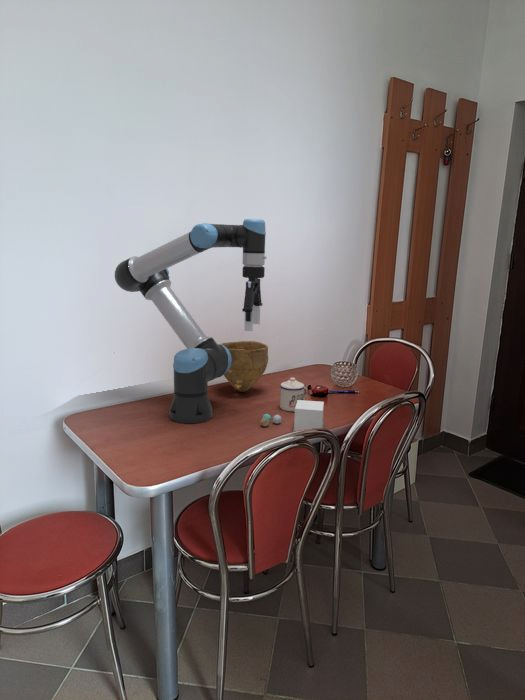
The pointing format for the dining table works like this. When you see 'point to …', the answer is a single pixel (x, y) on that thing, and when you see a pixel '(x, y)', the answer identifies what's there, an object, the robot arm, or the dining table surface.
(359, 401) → the dining table surface
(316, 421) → the cover
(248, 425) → the dining table surface
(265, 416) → the teal ball
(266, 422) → the cork ball
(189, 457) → the dining table surface
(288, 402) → the teacup with lid
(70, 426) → the dining table surface
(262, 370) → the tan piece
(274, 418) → the grey ball
